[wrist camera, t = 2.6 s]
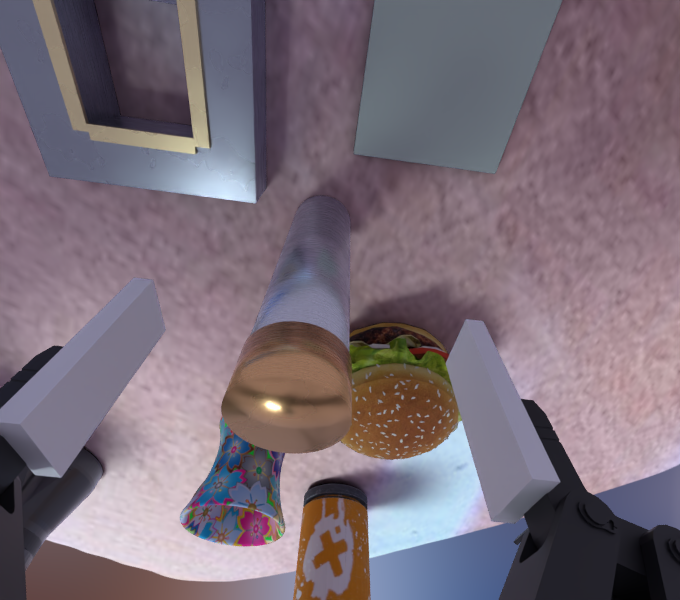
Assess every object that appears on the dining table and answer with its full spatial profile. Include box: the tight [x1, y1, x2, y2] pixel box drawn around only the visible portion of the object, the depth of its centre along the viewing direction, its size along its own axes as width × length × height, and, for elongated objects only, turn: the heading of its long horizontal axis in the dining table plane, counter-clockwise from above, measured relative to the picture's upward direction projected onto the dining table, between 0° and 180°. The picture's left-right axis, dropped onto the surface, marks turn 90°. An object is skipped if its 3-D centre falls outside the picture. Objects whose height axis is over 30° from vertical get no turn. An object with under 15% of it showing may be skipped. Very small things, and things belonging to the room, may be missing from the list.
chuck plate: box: [0, 0, 266, 203], centre depth 17 cm, size 12×12×3 cm
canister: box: [293, 483, 370, 600], centre depth 40 cm, size 9×11×20 cm
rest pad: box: [354, 0, 562, 174], centre depth 18 cm, size 9×9×1 cm
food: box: [340, 323, 462, 460], centre depth 29 cm, size 14×14×8 cm
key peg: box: [221, 195, 352, 453], centre depth 17 cm, size 4×4×16 cm
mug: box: [180, 416, 285, 546], centre depth 34 cm, size 12×9×11 cm
